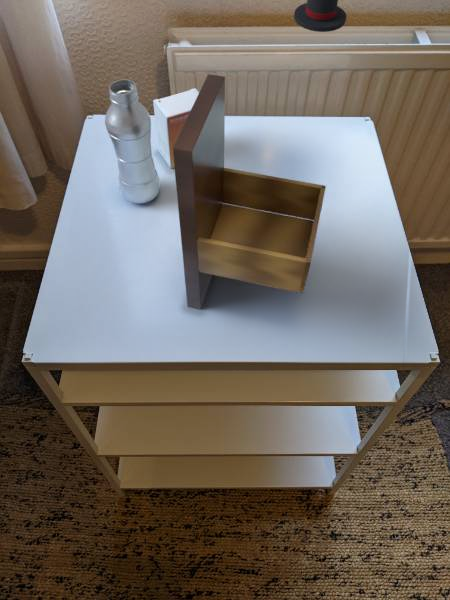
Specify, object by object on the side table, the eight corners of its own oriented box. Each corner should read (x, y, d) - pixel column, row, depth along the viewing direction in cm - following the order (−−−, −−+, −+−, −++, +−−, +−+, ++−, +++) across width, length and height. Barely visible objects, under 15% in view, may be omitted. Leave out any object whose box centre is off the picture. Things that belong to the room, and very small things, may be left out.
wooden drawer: (308, 259, 77) (347, 95, 54) (294, 330, 70) (331, 175, 47) (211, 239, 79) (207, 73, 56) (187, 306, 72) (172, 147, 49)
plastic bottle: (164, 205, 83) (150, 97, 67) (123, 211, 83) (99, 103, 66) (158, 179, 87) (144, 70, 70) (119, 184, 86) (96, 76, 70)
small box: (170, 169, 88) (165, 118, 80) (158, 151, 91) (151, 99, 82) (211, 156, 91) (210, 104, 82) (197, 138, 93) (195, 86, 85)
